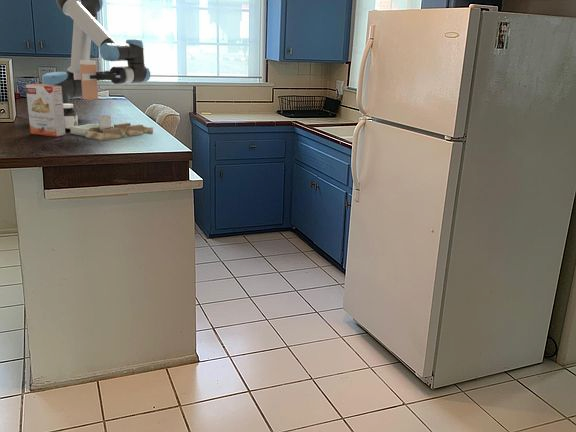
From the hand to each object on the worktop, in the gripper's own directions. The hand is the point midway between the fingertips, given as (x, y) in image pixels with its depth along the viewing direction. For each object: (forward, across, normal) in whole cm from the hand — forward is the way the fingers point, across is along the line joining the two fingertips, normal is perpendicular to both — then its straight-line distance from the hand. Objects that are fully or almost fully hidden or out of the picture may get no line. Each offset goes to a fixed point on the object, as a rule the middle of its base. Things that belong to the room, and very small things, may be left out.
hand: (78, 76), depth 237 cm
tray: (-5, 0, -24) cm, 25 cm away
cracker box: (+10, +10, -25) cm, 28 cm away
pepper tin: (-2, -12, -24) cm, 27 cm away
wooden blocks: (-10, -12, -24) cm, 29 cm away
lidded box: (-5, 0, -10) cm, 11 cm away
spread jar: (-3, +16, -25) cm, 30 cm away
